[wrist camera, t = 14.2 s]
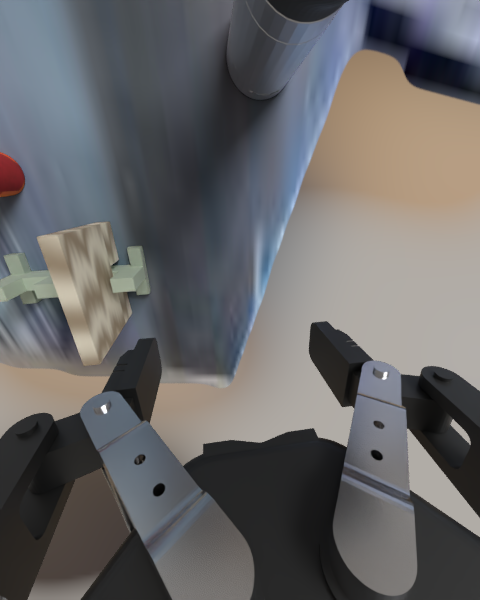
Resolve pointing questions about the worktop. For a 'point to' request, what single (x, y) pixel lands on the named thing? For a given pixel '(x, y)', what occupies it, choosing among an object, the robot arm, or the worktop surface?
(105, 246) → the beige flat panel
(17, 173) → the paper cup
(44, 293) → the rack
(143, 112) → the worktop surface
